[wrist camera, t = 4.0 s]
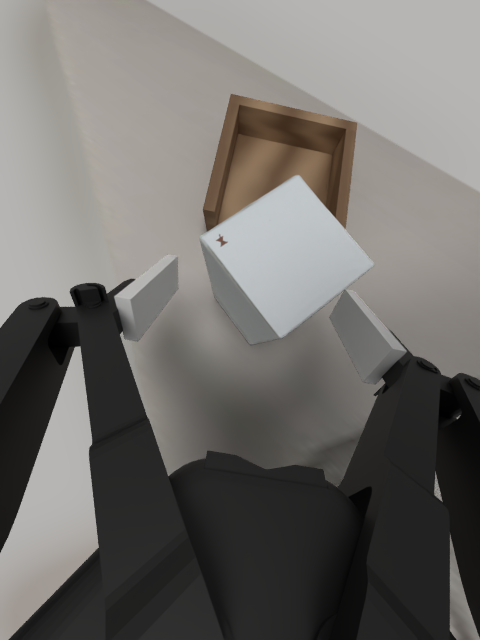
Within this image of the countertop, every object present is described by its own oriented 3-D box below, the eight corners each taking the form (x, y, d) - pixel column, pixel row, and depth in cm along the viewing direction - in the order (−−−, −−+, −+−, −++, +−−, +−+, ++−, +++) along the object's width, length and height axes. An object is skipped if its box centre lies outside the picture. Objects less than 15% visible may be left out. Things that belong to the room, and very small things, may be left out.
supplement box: (250, 347, 22) (277, 344, 10) (212, 296, 23) (193, 232, 10) (299, 310, 23) (381, 265, 11) (262, 262, 24) (298, 167, 11)
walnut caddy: (337, 157, 27) (357, 122, 23) (324, 257, 24) (344, 239, 20) (230, 134, 26) (231, 93, 22) (207, 233, 24) (202, 209, 20)
